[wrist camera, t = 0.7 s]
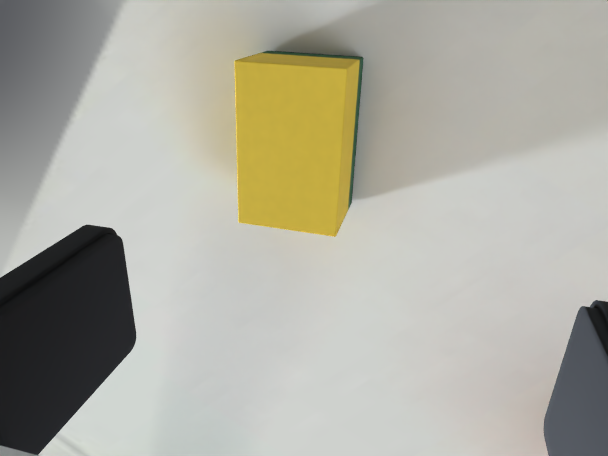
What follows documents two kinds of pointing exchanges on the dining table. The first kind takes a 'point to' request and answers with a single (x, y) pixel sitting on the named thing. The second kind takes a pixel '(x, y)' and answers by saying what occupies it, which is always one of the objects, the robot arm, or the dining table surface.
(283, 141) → the sponge
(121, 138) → the dining table surface
